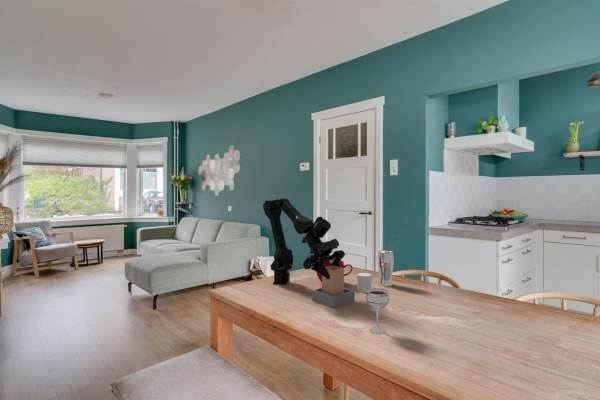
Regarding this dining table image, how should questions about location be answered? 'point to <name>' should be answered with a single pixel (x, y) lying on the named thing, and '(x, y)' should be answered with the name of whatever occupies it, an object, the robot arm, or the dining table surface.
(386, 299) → the wineglass
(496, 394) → the dining table surface
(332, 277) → the terracotta bin
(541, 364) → the dining table surface
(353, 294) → the grey square tray
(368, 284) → the white cylindrical piece
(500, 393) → the dining table surface
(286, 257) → the robot arm
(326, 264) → the ceramic cup
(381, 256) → the beer glass
